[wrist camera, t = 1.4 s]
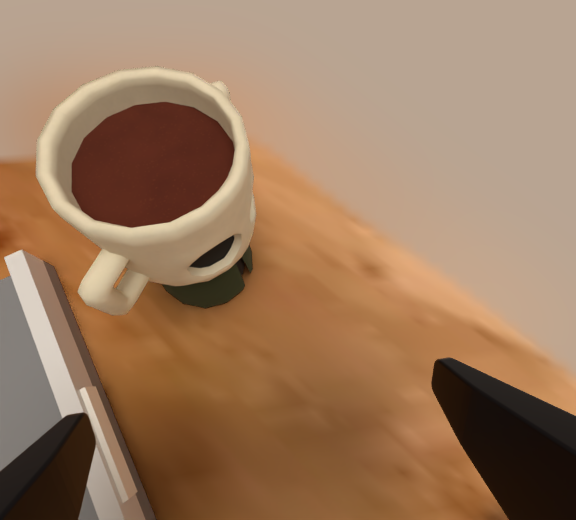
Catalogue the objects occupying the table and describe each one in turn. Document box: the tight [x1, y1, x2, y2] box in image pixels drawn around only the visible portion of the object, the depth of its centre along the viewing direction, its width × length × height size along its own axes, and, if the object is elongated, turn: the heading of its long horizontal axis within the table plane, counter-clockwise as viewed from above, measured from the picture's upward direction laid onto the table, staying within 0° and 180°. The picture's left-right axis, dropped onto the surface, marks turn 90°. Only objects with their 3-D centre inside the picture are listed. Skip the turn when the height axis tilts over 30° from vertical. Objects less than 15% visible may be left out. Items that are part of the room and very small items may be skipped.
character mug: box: [36, 66, 256, 315], centre depth 18 cm, size 11×7×13 cm, turn 158°
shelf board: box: [0, 250, 156, 520], centre depth 18 cm, size 10×18×3 cm, turn 31°
